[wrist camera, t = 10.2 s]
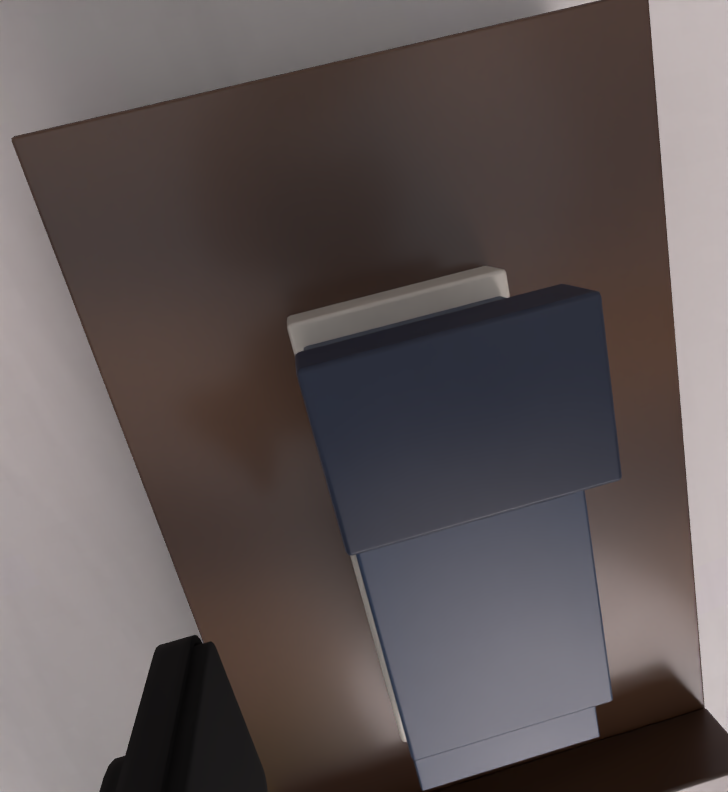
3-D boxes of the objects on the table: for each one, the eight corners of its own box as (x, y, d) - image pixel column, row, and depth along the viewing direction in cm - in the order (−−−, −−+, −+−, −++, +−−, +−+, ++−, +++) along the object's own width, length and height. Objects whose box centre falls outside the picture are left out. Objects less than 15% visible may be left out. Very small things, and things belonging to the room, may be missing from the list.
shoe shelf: (77, 158, 15) (-47, 119, 10) (561, 44, 16) (717, -57, 10) (287, 751, 21) (289, 946, 15) (633, 647, 22) (758, 797, 16)
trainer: (285, 315, 13) (288, 372, 8) (487, 264, 13) (610, 287, 8) (394, 708, 16) (443, 920, 11) (555, 660, 17) (671, 846, 12)
